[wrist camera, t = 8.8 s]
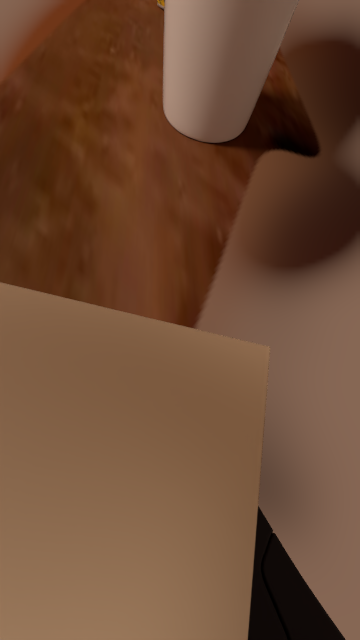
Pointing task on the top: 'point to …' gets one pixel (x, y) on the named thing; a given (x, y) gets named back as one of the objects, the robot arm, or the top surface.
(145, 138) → the top surface
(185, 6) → the candle holder
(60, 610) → the maple peg
